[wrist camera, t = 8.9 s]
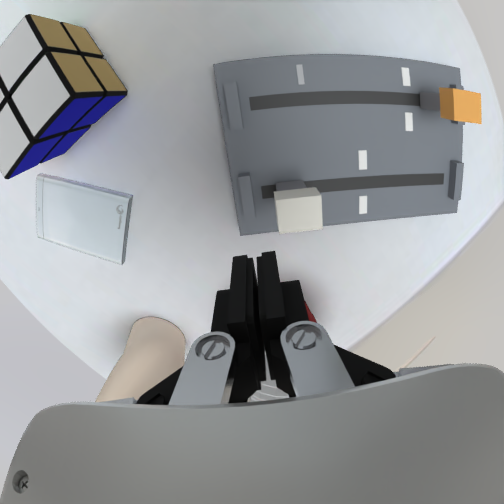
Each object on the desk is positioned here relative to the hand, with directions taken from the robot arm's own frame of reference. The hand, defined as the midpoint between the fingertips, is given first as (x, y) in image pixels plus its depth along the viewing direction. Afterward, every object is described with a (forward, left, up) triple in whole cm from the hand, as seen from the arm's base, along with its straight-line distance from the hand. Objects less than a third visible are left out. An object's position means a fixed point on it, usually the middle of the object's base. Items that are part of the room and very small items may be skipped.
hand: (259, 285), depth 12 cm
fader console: (-3, +10, -18) cm, 21 cm away
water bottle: (+19, -15, -18) cm, 30 cm away
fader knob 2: (-7, +18, -16) cm, 24 cm away
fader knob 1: (+1, +3, -16) cm, 16 cm away
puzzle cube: (-13, -17, -18) cm, 28 cm away
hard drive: (+1, -20, -19) cm, 27 cm away
